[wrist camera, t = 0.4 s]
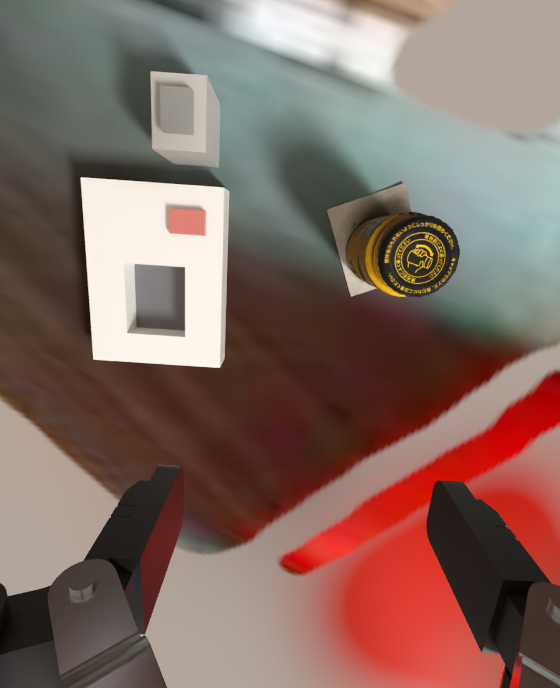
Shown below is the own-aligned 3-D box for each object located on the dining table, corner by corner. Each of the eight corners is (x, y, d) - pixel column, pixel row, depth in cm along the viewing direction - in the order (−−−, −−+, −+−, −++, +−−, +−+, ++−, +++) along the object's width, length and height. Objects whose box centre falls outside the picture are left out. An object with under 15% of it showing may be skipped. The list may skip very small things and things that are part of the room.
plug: (174, 101, 32) (146, 66, 26) (220, 104, 32) (204, 70, 26) (174, 164, 34) (148, 146, 27) (219, 167, 34) (203, 150, 27)
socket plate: (97, 182, 34) (76, 176, 31) (229, 191, 34) (223, 186, 31) (107, 350, 38) (90, 361, 35) (224, 358, 39) (218, 369, 35)
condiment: (350, 296, 37) (381, 322, 25) (326, 209, 35) (348, 194, 23) (423, 273, 36) (489, 288, 25) (403, 183, 34) (466, 154, 22)
